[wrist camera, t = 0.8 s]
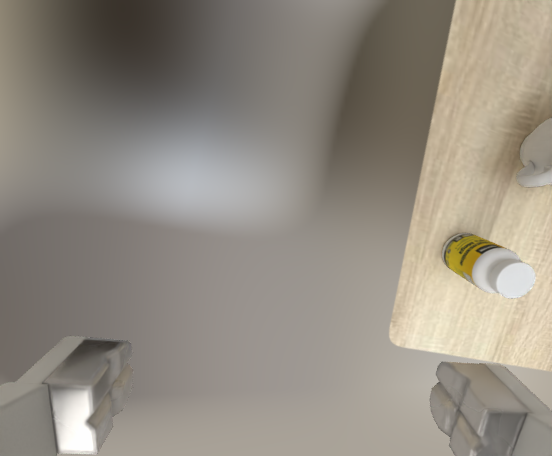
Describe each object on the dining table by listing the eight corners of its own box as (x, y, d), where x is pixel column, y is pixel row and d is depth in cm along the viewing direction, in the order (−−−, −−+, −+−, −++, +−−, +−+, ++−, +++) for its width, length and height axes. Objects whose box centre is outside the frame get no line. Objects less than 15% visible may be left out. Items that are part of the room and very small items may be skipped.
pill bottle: (464, 223, 46) (523, 245, 35) (488, 251, 47) (553, 280, 36) (431, 251, 47) (480, 281, 36) (456, 277, 48) (509, 314, 37)
